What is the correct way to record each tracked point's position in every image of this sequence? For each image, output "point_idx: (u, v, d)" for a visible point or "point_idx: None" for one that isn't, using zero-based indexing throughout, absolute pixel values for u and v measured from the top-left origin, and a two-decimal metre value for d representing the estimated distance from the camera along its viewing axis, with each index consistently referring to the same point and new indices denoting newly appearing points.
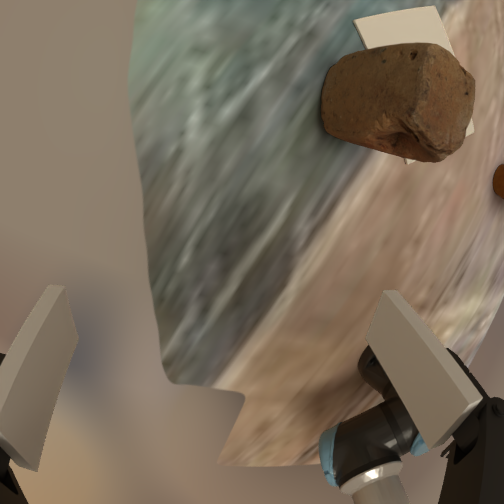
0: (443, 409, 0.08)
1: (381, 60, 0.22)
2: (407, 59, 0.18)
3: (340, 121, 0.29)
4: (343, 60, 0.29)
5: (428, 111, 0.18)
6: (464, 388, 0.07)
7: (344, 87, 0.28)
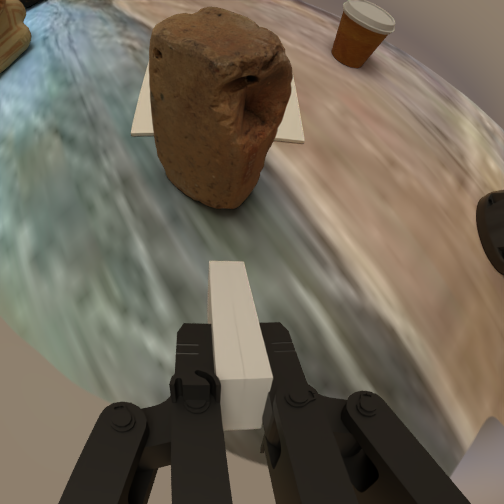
0: None
1: (161, 100, 0.22)
2: (160, 62, 0.18)
3: (218, 179, 0.26)
4: (160, 155, 0.30)
5: (219, 48, 0.16)
6: (251, 361, 0.08)
7: (184, 162, 0.27)
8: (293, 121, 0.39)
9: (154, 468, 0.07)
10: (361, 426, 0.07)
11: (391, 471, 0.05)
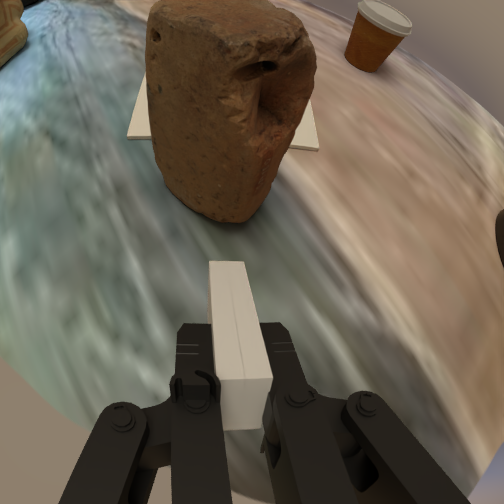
0: None
1: (159, 94, 0.18)
2: (159, 46, 0.14)
3: (224, 189, 0.22)
4: (158, 160, 0.26)
5: (231, 26, 0.12)
6: (251, 361, 0.08)
7: (185, 168, 0.23)
8: (306, 126, 0.35)
9: (154, 468, 0.07)
10: (361, 426, 0.07)
11: (391, 471, 0.05)
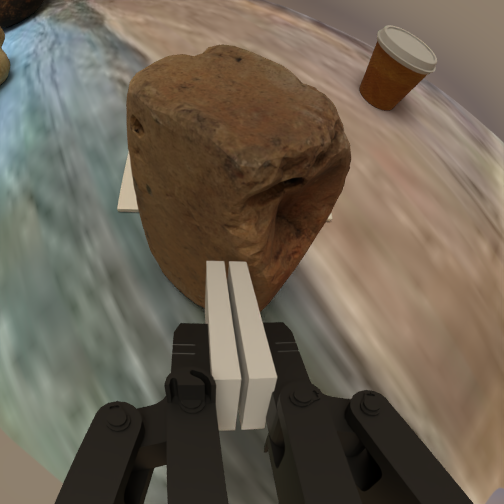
0: (242, 383, 0.09)
1: (148, 193, 0.16)
2: (142, 141, 0.12)
3: None
4: (152, 250, 0.23)
5: (244, 129, 0.10)
6: (255, 361, 0.08)
7: (184, 271, 0.21)
8: None
9: (150, 468, 0.07)
10: (364, 425, 0.07)
11: (394, 470, 0.05)
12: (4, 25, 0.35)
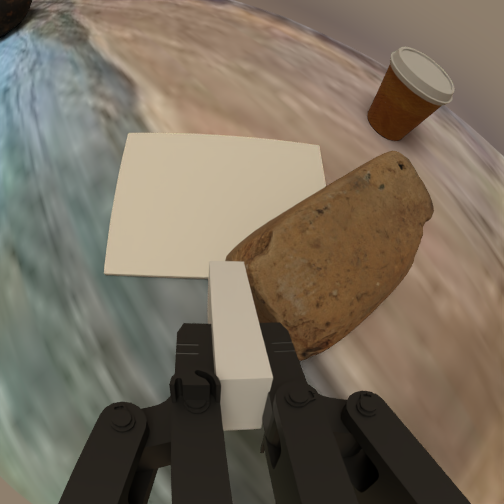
0: None
1: (376, 187, 0.24)
2: (402, 171, 0.25)
3: (379, 289, 0.23)
4: (296, 230, 0.21)
5: None
6: (251, 361, 0.08)
7: (346, 255, 0.22)
8: None
9: (154, 468, 0.07)
10: (361, 426, 0.07)
11: (391, 471, 0.05)
12: None
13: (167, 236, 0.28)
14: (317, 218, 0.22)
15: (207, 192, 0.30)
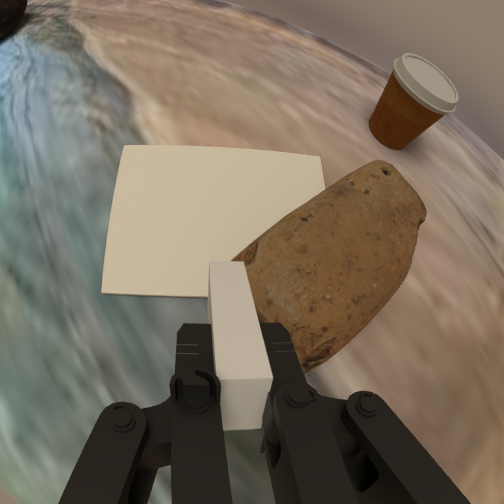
0: None
1: (360, 193, 0.25)
2: (386, 176, 0.26)
3: (377, 290, 0.22)
4: (281, 238, 0.22)
5: None
6: (251, 361, 0.08)
7: (337, 259, 0.22)
8: None
9: (154, 468, 0.07)
10: (361, 426, 0.07)
11: (391, 471, 0.05)
12: None
13: (165, 254, 0.28)
14: (302, 225, 0.23)
15: (205, 208, 0.30)
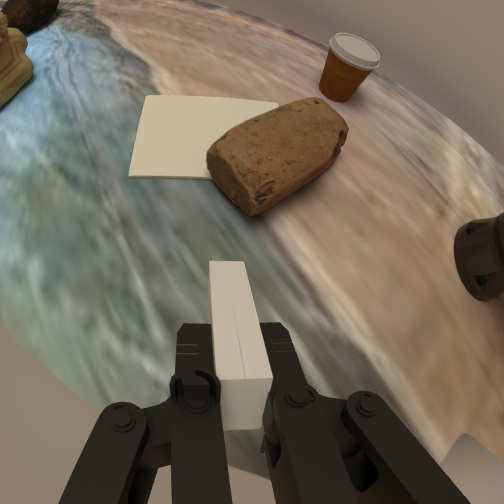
0: None
1: (295, 111, 0.39)
2: (316, 104, 0.40)
3: (303, 160, 0.36)
4: (242, 128, 0.36)
5: None
6: (251, 361, 0.08)
7: (276, 140, 0.36)
8: None
9: (154, 468, 0.07)
10: (361, 426, 0.07)
11: (391, 471, 0.05)
12: None
13: (172, 153, 0.41)
14: (254, 123, 0.36)
15: (199, 129, 0.44)
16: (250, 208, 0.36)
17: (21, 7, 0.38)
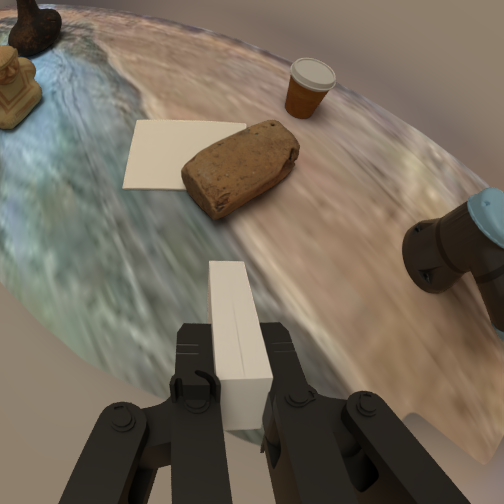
0: None
1: (253, 134, 0.50)
2: (272, 126, 0.51)
3: (254, 175, 0.47)
4: (207, 151, 0.47)
5: None
6: (251, 361, 0.08)
7: (233, 160, 0.47)
8: None
9: (154, 468, 0.07)
10: (361, 426, 0.07)
11: (391, 471, 0.05)
12: (28, 54, 0.56)
13: (156, 170, 0.52)
14: (217, 147, 0.47)
15: (179, 149, 0.55)
16: (213, 213, 0.47)
17: (27, 33, 0.49)
